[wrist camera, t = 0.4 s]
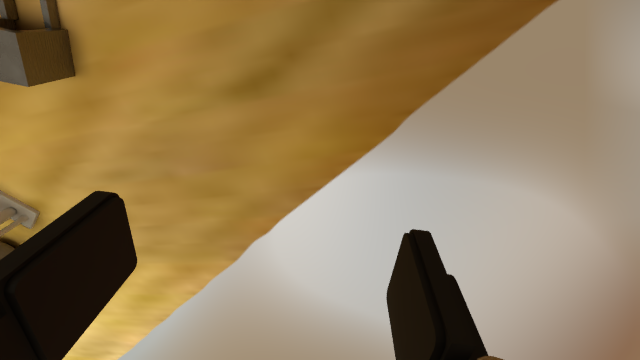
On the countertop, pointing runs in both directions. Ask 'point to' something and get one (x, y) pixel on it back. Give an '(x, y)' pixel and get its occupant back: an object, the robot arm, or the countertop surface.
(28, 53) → the end cap
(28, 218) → the test tube rack
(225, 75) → the countertop surface
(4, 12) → the guide channel
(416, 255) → the robot arm
